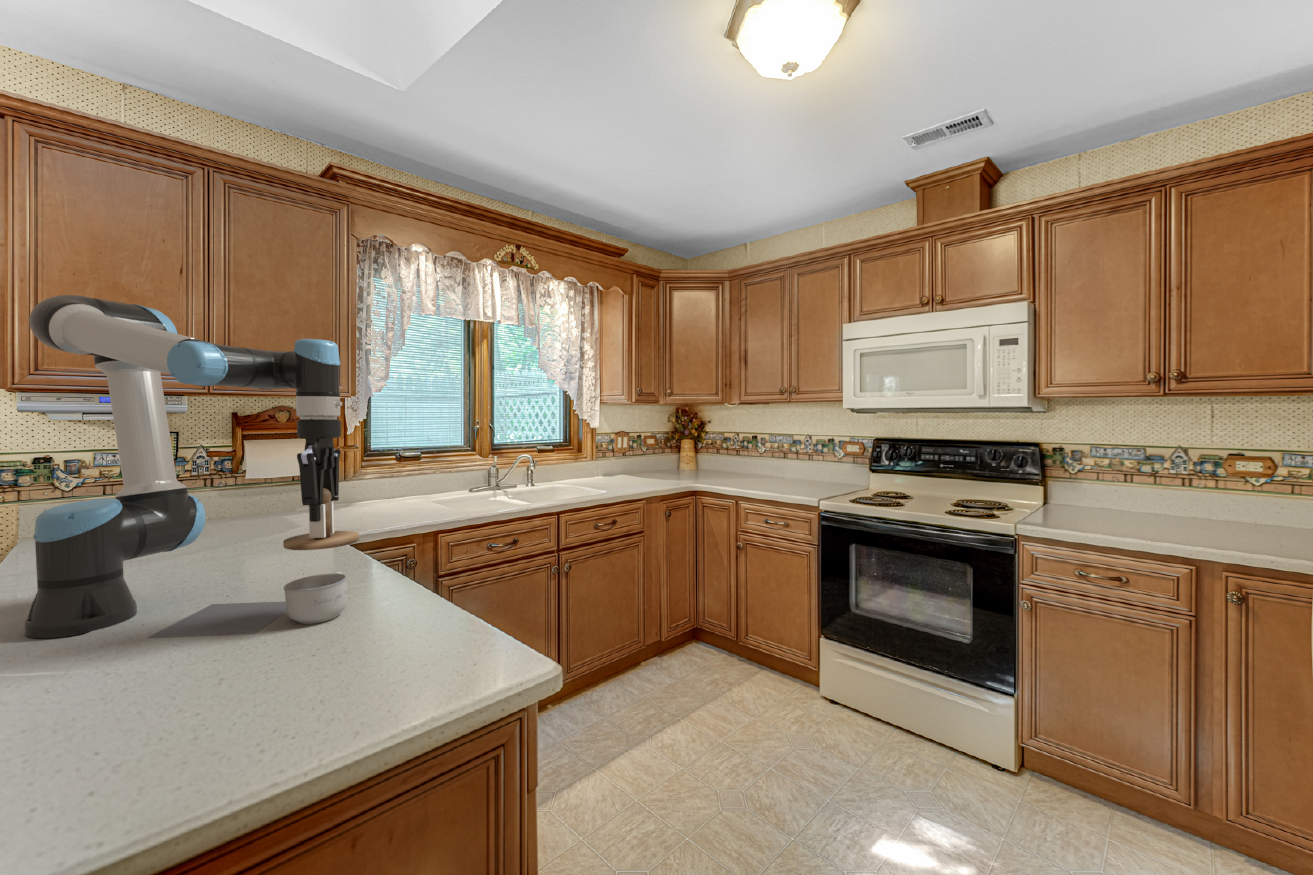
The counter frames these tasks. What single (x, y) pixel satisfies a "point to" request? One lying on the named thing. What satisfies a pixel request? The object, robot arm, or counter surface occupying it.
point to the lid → (322, 543)
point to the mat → (226, 620)
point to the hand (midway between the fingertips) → (322, 535)
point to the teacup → (316, 597)
